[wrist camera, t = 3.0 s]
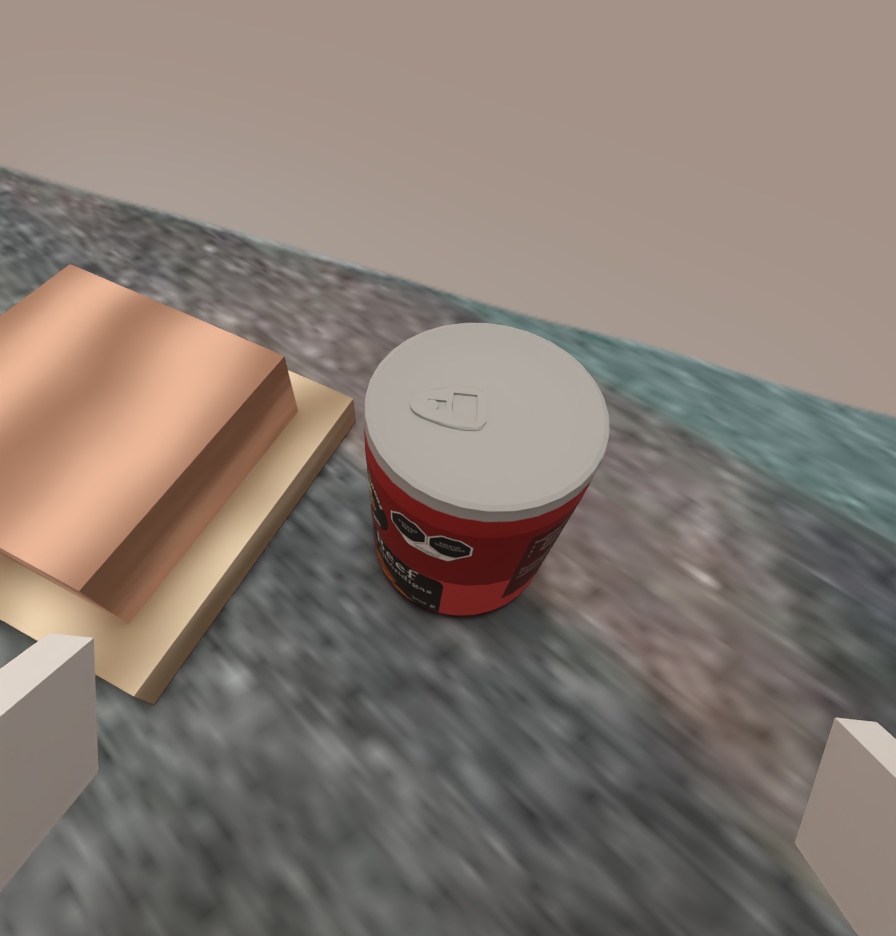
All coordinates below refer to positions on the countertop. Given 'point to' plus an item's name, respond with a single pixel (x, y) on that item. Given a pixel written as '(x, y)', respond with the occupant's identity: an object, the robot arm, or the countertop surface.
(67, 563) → the stand
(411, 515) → the canned food
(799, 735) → the countertop surface
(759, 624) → the countertop surface
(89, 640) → the robot arm
